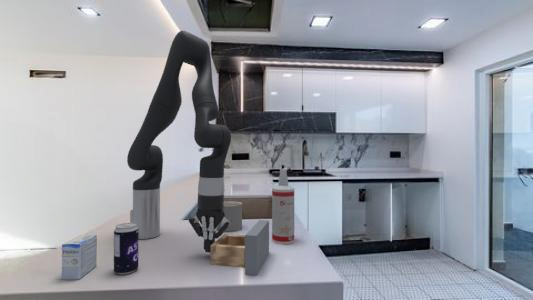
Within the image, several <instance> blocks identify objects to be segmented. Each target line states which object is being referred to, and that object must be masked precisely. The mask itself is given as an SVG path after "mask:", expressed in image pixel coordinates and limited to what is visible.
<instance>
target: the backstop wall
mask: <svg viewBox="0 0 533 300" xmlns="http://www.w3.org/2000/svg"><path fill="white" fill-rule="evenodd" d="M244 235H245V267H244V275H245V276H255V277H256V276H258V275H259V273H260V271H261V269H262V267H263V266H264V263H265V262H266V260H267V258H268V256H269V254H270V220H265V219H259V220H258V221H257V222H256V223H255V224H254V225H253V226H252V227H251V228H250V229H249V231H248V232H247V233H246V234H244Z"/></svg>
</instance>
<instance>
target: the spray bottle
mask: <svg viewBox="0 0 533 300" xmlns="http://www.w3.org/2000/svg"><path fill="white" fill-rule="evenodd" d="M287 171H288V170H287V168H280V169H279V177H278V185H277V186H274V187H272V189H271V195H272V196H271V222H272V223H271V232H272V233H271V242H273V243H274V244H278V245H286V246H287V245H292V244H294V243H295V187H292V186H290V185H289V178H288V174H287V173H288V172H287Z"/></svg>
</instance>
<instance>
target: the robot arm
mask: <svg viewBox="0 0 533 300" xmlns="http://www.w3.org/2000/svg"><path fill="white" fill-rule="evenodd" d="M183 64H187V65H190V66H193V67H194V69H195V71H196V74H197V76H196V77H197V78H196V81H195V83H194V85H193V87H192V91H191V100H192V106H193V109H194V116H195V118H194V120H195V121H194V134H193V135H194V136H193V137H194V141H195V143H196V144H197V146H198V147H200V148H203V149H213V150H212V153H211V154H210V155H207V156H203V157H201V158H200V161H199V173H198V174H199V178H198V186H197V211H196V212H195V216H192V217H191V218H189V220H188V223H189V224H190V225H191V227H192V229H193V230H194V232H195V233H196V235H197V236H198V237H199V238H200V237H201V238H203V250H205V253H211V245H212V244H213V243H215V242H216V241H215V240H218V239H219V238H221V237H222V236H223V235H224V233H225V232H224V231H225V230H226V229H227V228H228V227H229V225H230V224H231V221H230V220H227V219H226V218H225V214H224V211H223V208H224V202H225V190H226V189H225V178H224V176H225V164H226V159H227V155H228V152H229V149H230V145H231V141H232V134H231V130H230V129H229V127H228V126H227V125H223V124H215V123H210V122H212V121H215V120H217V118H218V117H219V115H220V110H219V106H218V102H217V97H216V94H215V90H214V85H213V73H212V72H213V71H212V70H213V69H212V56H211V50H210V46H209V44H208V42H207V41H206V40H204V39H203V38H201V37H199V36H197V35H195V34H193V33H190V32H188V31H186V30H179V31H178V32H177V33H176V34H175V36H174V37H173V40H172V42H171V45H170V48H169V52H168V55H167V58H166V61H165V65H164V68H163V72H162V74H161V77H160V80H159V81H158V85H157V87H156V90H155V91H154V94H153V96H152V100H151V102H150V103H149V106H148V110H147V112H146V115H145V118H144V120H143V121H142V124H141V126H140V128H139V131H138V133H137V135H136V137H135V138H134V139H133V140H134V141H133V142H132V143H131V146H130V148H129V150H128V152H127V160H126V162H127V166H128V168H129V169H131V170H133V171H144V173H143V174H142V176H141V177H139V178H138V179H136V180H134V181H133V183H132V209H131V210H129V211H130V213H129V215H130V216H129V223H136V224H137V227H138V229H139V240H146V239H153V238H156V237H159V236H160V235H161V183H162V180H163V165H164V164H163V163H164V156H163V155H164V154H163V151H162V149H161V147H160V146H159V145H154V144H153V143H154V141H155V139H157V138H158V137H159V136H160V135H161V134H162V133H163V132H164V131H165V130H166V129H167V128H169V126H171V124H173V122H175V120H176V118H177V116H178V113H179V111H180V108H181V106H182V99H183V98H182V93H181V92H182V91H181V88H180V86H181V85H180V73H181V69H182V67H183ZM221 221H222V227H221V229H220V230H219V231H218V230H217V226H218V225H219V224H220V223H221Z"/></svg>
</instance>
